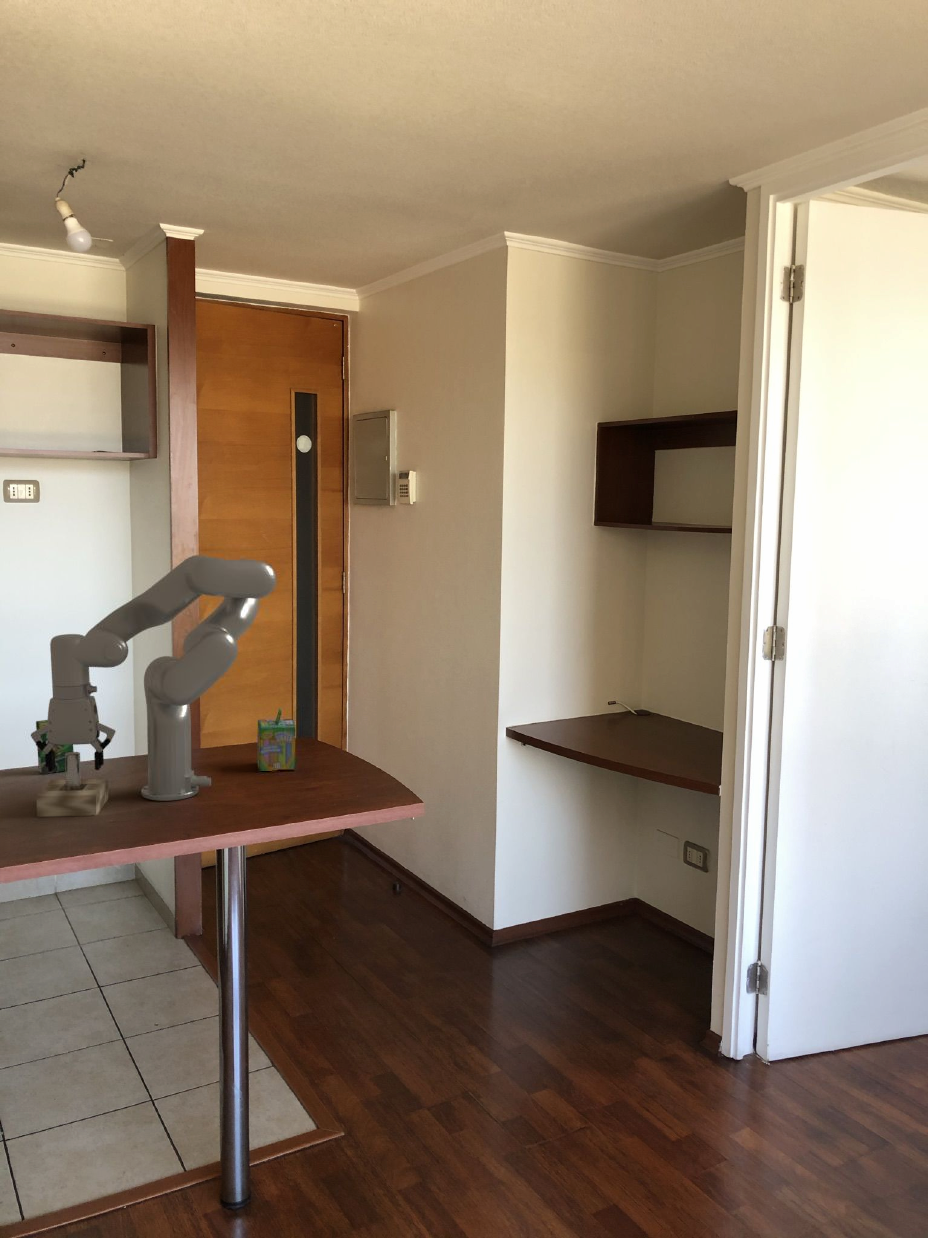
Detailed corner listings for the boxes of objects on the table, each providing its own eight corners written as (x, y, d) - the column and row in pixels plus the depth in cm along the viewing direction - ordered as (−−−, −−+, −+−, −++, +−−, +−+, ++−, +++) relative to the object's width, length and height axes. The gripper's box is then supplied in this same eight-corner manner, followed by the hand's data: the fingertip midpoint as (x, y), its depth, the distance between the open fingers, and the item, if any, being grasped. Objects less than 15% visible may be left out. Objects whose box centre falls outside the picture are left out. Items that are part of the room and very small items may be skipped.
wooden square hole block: (108, 798, 223) (107, 779, 223) (96, 815, 212) (95, 795, 211) (52, 799, 222) (51, 780, 221) (37, 816, 210) (36, 796, 209)
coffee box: (40, 775, 240) (38, 722, 238) (37, 772, 242) (35, 720, 241) (74, 770, 245) (73, 718, 243) (71, 768, 247) (70, 716, 245)
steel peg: (82, 805, 218) (81, 751, 217) (79, 809, 215) (78, 755, 214) (68, 805, 218) (67, 752, 216) (65, 809, 215) (63, 755, 213)
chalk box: (257, 763, 255) (256, 706, 254) (293, 761, 258) (293, 705, 256) (258, 773, 246) (258, 714, 245) (295, 771, 249) (296, 713, 247)
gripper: (116, 687, 218) (120, 763, 221) (34, 689, 216) (38, 766, 218) (109, 694, 211) (113, 773, 213) (24, 696, 209) (28, 775, 211)
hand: (75, 769), depth 216 cm, fingers open, 9 cm apart
